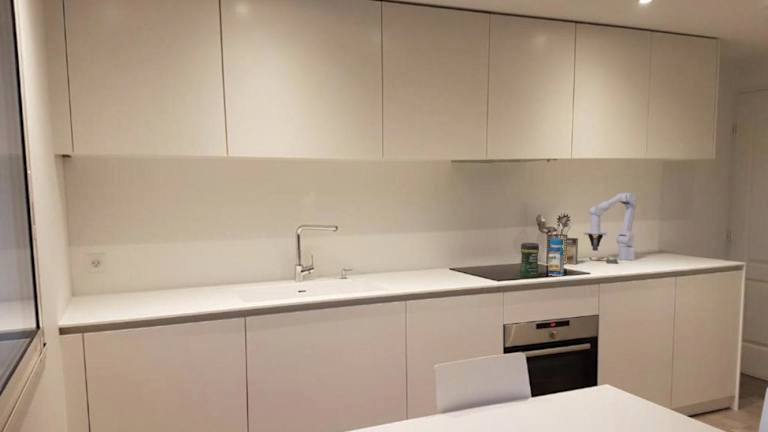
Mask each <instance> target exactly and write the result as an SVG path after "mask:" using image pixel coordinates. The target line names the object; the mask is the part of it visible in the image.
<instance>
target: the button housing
mask: <svg viewBox="0 0 768 432" xmlns="http://www.w3.org/2000/svg"><path fill="white" fill-rule="evenodd" d="M618 260H619V259H618V258H615V260H609V259H606V261H605V263H606V264H610V265H611V264H614V265H616V264H618V263H619V261H618Z"/></svg>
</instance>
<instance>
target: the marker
mask: <svg viewBox="0 0 768 432" xmlns="http://www.w3.org/2000/svg"><path fill="white" fill-rule="evenodd" d="M592 251H593V252H595V251H596V252H597V251H599V246H598V235H593V246H592Z"/></svg>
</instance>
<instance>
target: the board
mask: <svg viewBox="0 0 768 432" xmlns="http://www.w3.org/2000/svg"><path fill="white" fill-rule="evenodd" d="M588 258H589V261H591V262H592V261H593V262H594V261H595V262H606V259H609V257H593V256H592V257H590V256H589V257H588Z"/></svg>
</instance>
